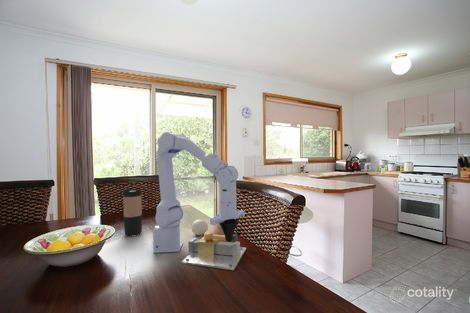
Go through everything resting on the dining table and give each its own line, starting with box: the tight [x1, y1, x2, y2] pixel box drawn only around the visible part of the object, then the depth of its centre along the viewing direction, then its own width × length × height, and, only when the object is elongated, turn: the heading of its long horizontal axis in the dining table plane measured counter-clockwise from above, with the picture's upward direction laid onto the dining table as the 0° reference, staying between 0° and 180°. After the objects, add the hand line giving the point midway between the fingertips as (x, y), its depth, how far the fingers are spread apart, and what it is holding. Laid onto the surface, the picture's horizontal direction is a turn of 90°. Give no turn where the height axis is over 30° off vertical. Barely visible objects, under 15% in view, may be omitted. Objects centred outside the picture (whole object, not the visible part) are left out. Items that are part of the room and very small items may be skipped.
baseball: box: [191, 219, 209, 236], centre depth 102 cm, size 7×7×7 cm
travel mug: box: [122, 188, 143, 237], centre depth 105 cm, size 8×8×20 cm
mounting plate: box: [180, 246, 247, 271], centre depth 80 cm, size 18×16×1 cm
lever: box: [203, 231, 239, 243], centre depth 81 cm, size 12×3×2 cm, turn 73°
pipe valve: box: [187, 236, 241, 257], centre depth 81 cm, size 18×6×5 cm, turn 74°
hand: (228, 241), depth 78 cm, fingers closed
